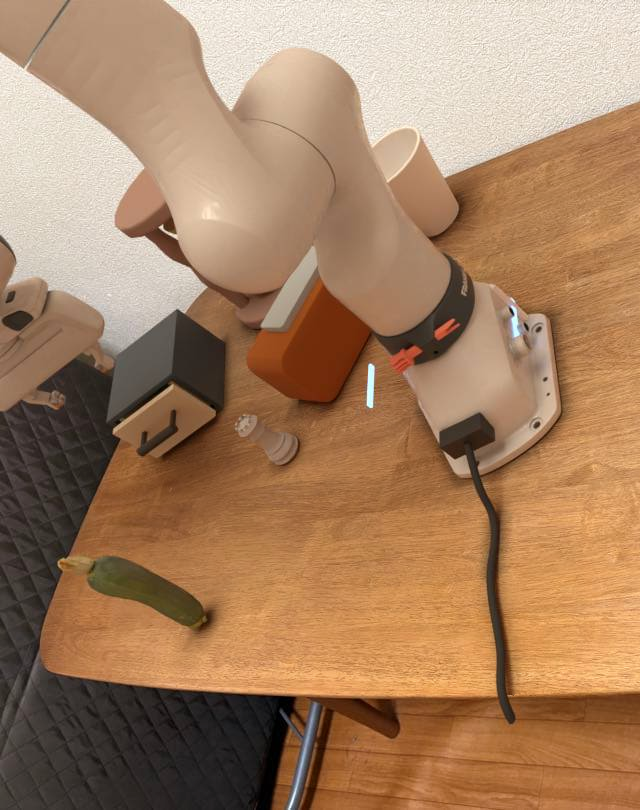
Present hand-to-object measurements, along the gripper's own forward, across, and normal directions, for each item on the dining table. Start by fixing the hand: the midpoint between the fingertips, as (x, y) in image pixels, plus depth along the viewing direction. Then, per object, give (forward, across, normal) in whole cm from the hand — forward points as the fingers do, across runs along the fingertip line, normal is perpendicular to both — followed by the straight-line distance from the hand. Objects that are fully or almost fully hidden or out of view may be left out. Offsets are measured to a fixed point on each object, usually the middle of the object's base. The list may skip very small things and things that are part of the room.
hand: (86, 385), depth 115 cm
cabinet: (+18, 0, +11) cm, 21 cm away
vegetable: (+18, +5, -33) cm, 38 cm away
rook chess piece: (+18, +19, -15) cm, 30 cm away
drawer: (+17, 0, +6) cm, 18 cm away
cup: (+18, +50, +10) cm, 54 cm away
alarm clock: (+18, +32, -1) cm, 37 cm away
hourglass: (+18, +20, +22) cm, 35 cm away
